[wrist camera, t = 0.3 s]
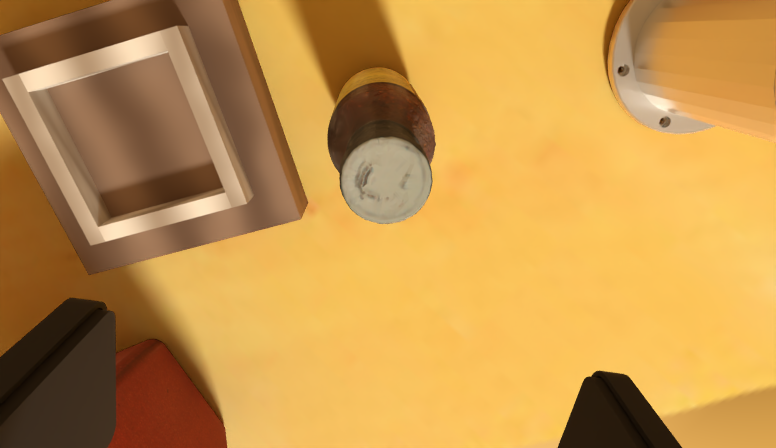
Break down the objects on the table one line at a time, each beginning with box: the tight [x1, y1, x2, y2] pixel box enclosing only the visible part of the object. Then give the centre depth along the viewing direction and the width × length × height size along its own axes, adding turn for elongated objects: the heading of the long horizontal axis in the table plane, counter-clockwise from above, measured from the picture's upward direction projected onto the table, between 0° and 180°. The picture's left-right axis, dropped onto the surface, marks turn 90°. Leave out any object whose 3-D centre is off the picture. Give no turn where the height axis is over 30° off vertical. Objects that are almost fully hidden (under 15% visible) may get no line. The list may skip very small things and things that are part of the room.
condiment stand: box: [0, 0, 308, 275], centre depth 37 cm, size 18×18×6 cm
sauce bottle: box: [328, 67, 436, 224], centre depth 31 cm, size 6×6×20 cm
